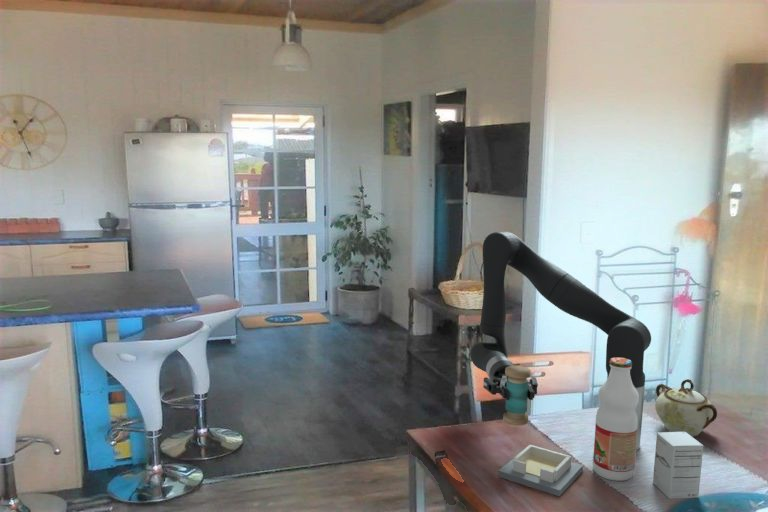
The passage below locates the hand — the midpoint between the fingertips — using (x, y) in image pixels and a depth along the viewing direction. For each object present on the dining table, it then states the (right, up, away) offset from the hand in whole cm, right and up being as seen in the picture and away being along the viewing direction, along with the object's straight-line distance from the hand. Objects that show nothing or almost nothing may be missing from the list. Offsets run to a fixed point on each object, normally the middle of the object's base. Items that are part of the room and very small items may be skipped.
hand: (519, 396), depth 155 cm
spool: (0, -7, +4) cm, 8 cm away
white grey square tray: (+5, -18, -1) cm, 19 cm away
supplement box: (+34, -20, -8) cm, 40 cm away
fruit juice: (+22, -19, 0) cm, 29 cm away
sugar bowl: (+51, -15, +25) cm, 59 cm away
